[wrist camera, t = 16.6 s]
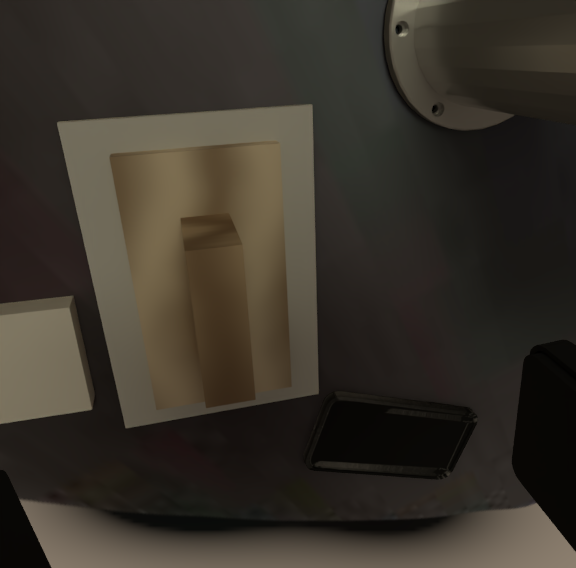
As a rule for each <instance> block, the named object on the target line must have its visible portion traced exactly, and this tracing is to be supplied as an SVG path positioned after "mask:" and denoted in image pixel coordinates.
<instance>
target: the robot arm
mask: <svg viewBox="0 0 576 568" xmlns="http://www.w3.org/2000/svg"><path fill="white" fill-rule="evenodd" d="M396 25H398V26H399V29H400V30H399V32H398V34H396V31H395V28H396ZM384 44H385V55H386V60H387V64H388V67H389V71H390V75H391V77H392V80H393V82H394V84H395V86H396V88H397V90H398V92H399V94H400V95H401V96H402V98H403V99H404V100H405V102H406V103H407V104H408V106H409V107H410V108H412V109H413V110H414V111H415V112H416V113H417V114H419V115H420V116H421V117H422V118H424V119H426V120H428V121H430V122H432V123H434V124H436V125H439V126H442V127H446V128H449V129H456V130H463V131H469V130H481V129H485V128H488V127H491V126H495V125H498V124H500V123H502V122H504V121H505V120H507V119H509V118H511V117H513V116H515V115H519V116H525V117H531V118H536V119H542V120H548V121H554V122H559V123H565V124H571V125H576V0H388V4H387V8H386V13H385V25H384ZM433 106H434V107H435V108H434V111H433V112H432V107H433ZM512 465H513V469H514V472H515V474H516V476H517V478H518V480H519V481H520V482H521V484H522V485H523V486H524V487H525V489H526V490H527V491H528V492H529V494H530V495H531V496H532V497H533V499H534V500H535V501H536V502H537V504H538V505H539V506H540V507H541V509H542V510H543V511H544V512H545V513H546V515H547V516H548V517H549V519H550V520H551V521H552V522H553V524H554V525H555V526H556V527H557V529H558V530H559V531H560V532H561V534H562V535H563V536H564V537H565V539H566V540H567V541H568V543H569V544H570V545H571V546H572V548H573V549H574V550H575V551H576V345H574V344H573V343H571V342H569V341H568V340H559V341H555V342H550V343H545V344H541V345H537V346H534V347H533V348H532V349H531V352H530V355H528V356H526V357H525V359H524V363H523V371H522V380H521V388H520V396H519V405H518V413H517V421H516V430H515V438H514V446H513V455H512ZM0 568H51V566H50V564H49V562H48V560H47V558H46V556H45V553H44V551H43V549H42V547H41V545H40V543H39V541H38V539H37V536H36V534H35V532H34V530H33V528H32V526H31V524H30V522H29V520H28V517H27V515H26V513H25V511H24V509H23V507H22V505H21V503H20V500H19V498H18V496H17V494H16V492H15V490H14V488H13V486H12V483H11V481H10V479H9V477H8V475H7V474H6V472H5V471H3V470H0Z"/></svg>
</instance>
